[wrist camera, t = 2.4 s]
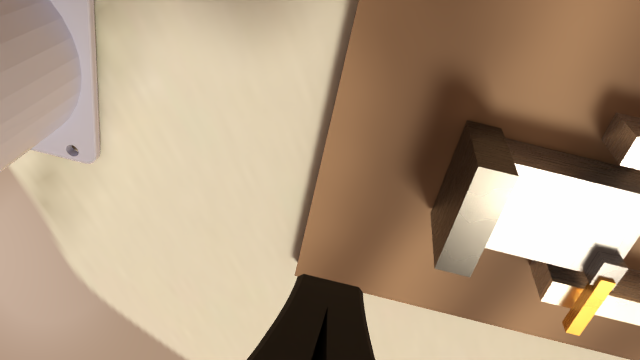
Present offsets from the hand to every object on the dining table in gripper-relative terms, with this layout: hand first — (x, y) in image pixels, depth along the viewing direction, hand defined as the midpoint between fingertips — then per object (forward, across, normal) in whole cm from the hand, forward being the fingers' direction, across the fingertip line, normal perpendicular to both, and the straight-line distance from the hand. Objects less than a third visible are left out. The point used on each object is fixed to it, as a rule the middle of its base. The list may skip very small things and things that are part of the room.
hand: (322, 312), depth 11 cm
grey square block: (+8, -7, +1) cm, 11 cm away
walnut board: (+9, -8, 0) cm, 12 cm away
